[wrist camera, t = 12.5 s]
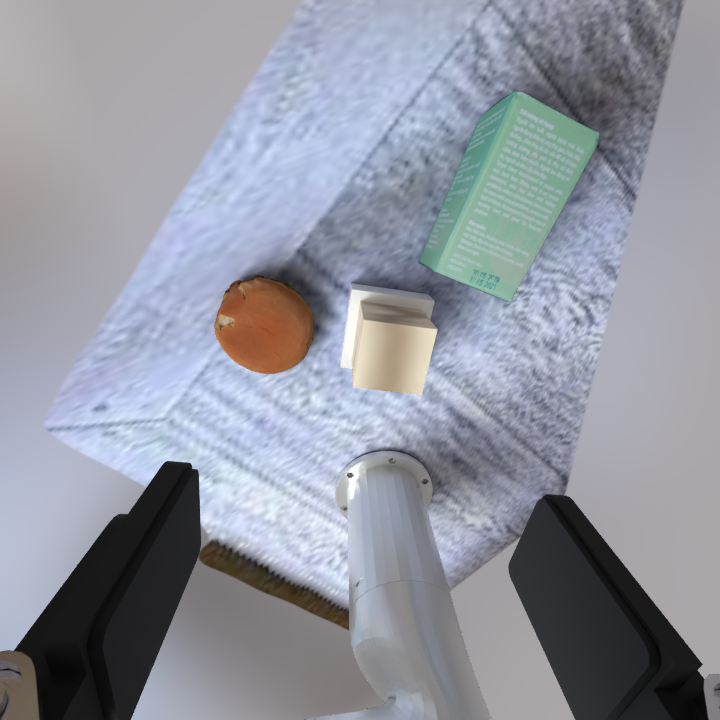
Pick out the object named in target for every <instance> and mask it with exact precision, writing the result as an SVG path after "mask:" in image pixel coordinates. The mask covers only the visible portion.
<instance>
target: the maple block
mask: <svg viewBox="0 0 720 720" xmlns="http://www.w3.org/2000/svg"><path fill="white" fill-rule="evenodd" d="M437 330H438V329H437V328H436V327H435V326H434V324H433V323H432V322H431V320H430V319H429V318H428V317H427V315H426V314H425V313H424V312H423V310H420V309H413V308H406V307H398V306H391V305H384V304H376V303H369V302H362V301H360V306H359V312H358V319H357V325H356V332H355V339H354V345H353V352H352V358H351V362H352V379H353V387H355V388H364V389H373V390H382V391H391V392H400V393H409V394H418V395H422V391H423V387H424V383H425V379H426V375H427V371H428V367H429V362H430V358H431V354H432V350H433V346H434V342H435V338H436V334H437Z"/></svg>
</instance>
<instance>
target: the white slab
mask: <svg viewBox="0 0 720 720" xmlns="http://www.w3.org/2000/svg"><path fill="white" fill-rule="evenodd" d="M360 301H362V302H369V303H376V304H384V305H391V306H398V307H406V308H413V309H420V310H423V312H424V313H425V314H426V315H427V317H428V318H429V319H431V315H432V311H433V307H434V303H435V301H434V300H433V299H432V298H431V297H430V296H429V295H428V294H424V293H417V292H410V291H403V290H396V289H389V288H382V287H375V286H368V285H361V284H354V283H351V285H350V292H349V299H348V306H347V314H346V321H345V328H344V335H343V342H342V349H341V358H340V367H344V368H352V362H351V358H352V352H353V345H354V339H355V332H356V325H357V319H358V312H359V306H360Z"/></svg>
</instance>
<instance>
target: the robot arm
mask: <svg viewBox="0 0 720 720" xmlns="http://www.w3.org/2000/svg"><path fill="white" fill-rule="evenodd" d="M432 493H433V488H432V482H431V478H430V476H429V474H428V471H427V470H426V468H425V467H424V466H423V465H422V463H420V462H419V461H418V460H417V459H415V458H413V457H411V456H409V455H407V454H404V453H401V452H395V451H378V452H372V453H369V454H366V455H363V456H361V457H359V458H357V459H355V460H353V461H352V462H351V463H350V464H348V465H347V466H346V467H345V468H344V470H343V471H342V472H341V474H340V475H339V477H338V479H337V483H336V487H335V499H336V504H337V507H338V509H339V510H340V512H341V513H342V515H343V516H344V517H345V518H346V519H347V520H348V565H349V625H350V640H351V645H352V650H353V653H354V656H355V658H356V661H357V663H358V665H359V667H360V669H361V671H362V673H363V674H364V676H365V677H366V679H367V680H368V682H369V683H370V685H371V686H372V687H373V689H374V690H375V691H376V693H377V694H378V695H379V696H380V698H381V699H382V700H383V702H384V703H385V704H383V705H381V706H377V707H372V708H367V709H366V710H364V711H357V712H350V713H343V714H336V715H329V716H322V717H315V718H309V719H303V720H492V718H491V716H490V713H489V711H488V708H487V706H486V704H485V701H484V698H483V695H482V693H481V690H480V687H479V685H478V682H477V679H476V677H475V674H474V671H473V668H472V665H471V662H470V659H469V656H468V653H467V650H466V646H465V643H464V640H463V636H462V633H461V630H460V626H459V623H458V619H457V616H456V613H455V609H454V605H453V601H452V598H451V594H450V591H449V587H448V583H447V580H446V576H445V573H444V569H443V566H442V562H441V559H440V555H439V551H438V548H437V544H436V541H435V537H434V534H433V530H432V526H431V523H430V519H429V516H428V512H427V509H426V508H427V507H428V505H429V503H430V501H431V498H432ZM200 529H201V528H200V499H199V473H198V470H196V469H192V465H191V463H184V462H173V461H166V462H165V463H164V464H163V465H162V466H161V468H160V469H159V471H158V472H157V474H156V475H155V476H154V478H153V479H152V481H151V482H150V484H149V485H148V486H147V488H146V490H145V491H144V492H143V494H142V495H141V496H140V498H139V499H138V501H137V502H136V504H135V505H134V506H133V508H132V509H131V511H130V512H129V514H118V515H117V516H115V517H114V518H113V519H112V520H111V521H110V522H109V524H108V525H107V526H106V528H105V529H104V530H103V532H102V533H101V534H100V536H99V537H98V538H97V540H96V541H95V542H94V544H93V545H92V546H91V548H90V549H89V551H88V552H87V553H86V554H85V556H84V557H83V558H82V560H81V561H80V563H79V564H78V565H77V567H76V568H75V569H74V571H73V572H72V573H71V575H70V576H69V577H68V579H67V580H66V581H65V583H64V584H63V586H62V587H61V588H60V589H59V591H58V592H57V594H56V595H55V596H54V598H53V599H52V600H51V601H50V603H49V604H48V605H47V607H46V609H45V610H44V611H43V612H42V614H41V615H40V616H39V618H38V619H37V620H36V622H35V623H34V624H33V626H32V627H31V628H30V630H29V631H28V632H27V634H26V635H25V637H24V638H23V639H22V641H21V642H20V643H19V644H18V646H17V647H16V649H15V650H14V651H10V650H7V651H2V652H0V720H131V717H132V715H133V713H134V710H135V708H136V705H137V703H138V701H139V698H140V696H141V693H142V691H143V689H144V686H145V684H146V681H147V679H148V676H149V674H150V672H151V669H152V667H153V665H154V662H155V660H156V657H157V655H158V652H159V650H160V648H161V645H162V643H163V640H164V638H165V636H166V633H167V631H168V628H169V626H170V624H171V621H172V619H173V616H174V614H175V611H176V609H177V607H178V604H179V602H180V599H181V597H182V594H183V592H184V590H185V587H186V585H187V582H188V580H189V578H190V575H191V573H192V570H193V568H194V565H195V563H196V561H197V558H198V555H199V552H200V547H201V530H200ZM509 574H510V577H511V580H512V582H513V584H514V586H515V589H516V591H517V593H518V595H519V597H520V599H521V602H522V604H523V606H524V608H525V610H526V612H527V615H528V617H529V619H530V621H531V624H532V626H533V628H534V630H535V632H536V635H537V637H538V639H539V641H540V643H541V646H542V648H543V650H544V652H545V654H546V656H547V659H548V661H549V663H550V665H551V667H552V670H553V672H554V674H555V676H556V678H557V680H558V683H559V685H560V687H561V689H562V692H563V694H564V696H565V698H566V700H567V702H568V704H569V707H570V709H571V711H572V713H573V715H574V718H575V720H720V674H711V675H710V674H709V675H708V676H707V677H706V678H705V679H704V678H703V677H702V676H701V674H700V673H699V672H698V669H699V668H700V667H701V666H702V663H701V662H700V661H699V659H698V658H697V657H696V655H695V654H694V653H693V652H692V650H691V649H690V648H689V647H688V645H687V644H686V643H685V642H684V640H683V639H682V638H681V637H680V635H679V634H678V633H677V631H676V630H675V629H674V628H673V626H672V625H671V624H670V623H669V622H668V620H667V619H666V618H665V616H664V615H663V614H662V612H661V611H660V610H659V609H658V607H657V606H656V605H655V604H654V602H653V601H652V600H651V599H650V597H649V596H648V595H647V594H646V592H645V591H644V590H643V589H642V587H641V586H640V585H639V583H638V582H637V581H636V580H635V578H634V577H633V576H632V575H631V573H630V572H629V571H628V569H627V568H626V567H625V566H624V564H623V563H622V562H621V561H620V559H619V558H618V557H617V556H616V555H615V553H614V552H613V551H612V549H611V548H610V547H609V546H608V544H607V543H606V542H605V541H604V539H603V538H602V537H601V535H600V534H599V533H598V532H597V530H596V529H595V528H594V526H593V525H592V524H591V523H590V522H589V520H588V519H587V518H586V516H585V515H584V514H583V513H582V511H581V510H580V509H579V508H578V506H577V505H576V504H575V503H574V501H573V500H572V499H571V498H570V497H567V496H562V495H551V494H546V495H544V496H543V498H542V499H540V500H538V502H537V503H536V505H535V508H534V510H533V512H532V514H531V516H530V519H529V521H528V523H527V525H526V527H525V529H524V532H523V534H522V536H521V538H520V541H519V543H518V545H517V547H516V549H515V551H514V553H513V556H512V558H511V560H510V563H509Z"/></svg>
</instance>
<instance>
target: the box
mask: <svg viewBox="0 0 720 720" xmlns="http://www.w3.org/2000/svg"><path fill="white" fill-rule="evenodd" d="M598 141H599V133H598V132H597V131H595V130H593V129H591V128H589V127H587V126H585V125H583V124H581V123H579V122H577V121H575V120H573V119H571V118H570V117H568V116H566V115H564V114H562V113H561V112H559V111H557V110H555V109H553V108H551V107H549V106H547V105H545V104H544V103H542V102H540V101H538V100H536V99H534V98H532V97H530V96H529V95H527V94H525V93H523V92H520V91H513V92H512V93H510V94H509V95H507V96H506V97H504V98H503V99H501V100H500V101H498V102H497V103H496V104H494V105H493V106H492V107H491V108H490V109H488V110H487V111H486V112H485V113H484V114H483V115H482V116H481V117H480V119H479V121H478V123H477V125H476V127H475V130H474V132H473V135H472V137H471V139H470V142H469V144H468V146H467V149H466V151H465V153H464V156H463V158H462V160H461V163H460V165H459V168H458V170H457V172H456V175H455V177H454V179H453V182H452V184H451V186H450V189H449V191H448V193H447V196H446V198H445V200H444V202H443V205H442V207H441V209H440V212H439V214H438V216H437V219H436V221H435V223H434V226H433V228H432V231H431V233H430V236H429V238H428V240H427V243H426V245H425V248H424V250H423V253H422V255H421V258H420V260H419V263H420V264H422V265H424V266H425V267H427V268H429V269H431V270H433V271H434V272H437V273H439V274H442V275H444V276H447V277H449V278H451V279H454V280H456V281H459V282H461V283H463V284H466V285H468V286H471V287H473V288H475V289H478V290H480V291H483V292H485V293H488V294H490V295H492V296H495V297H497V298H500V299H502V300H504V301H507V302H511V300H512V298H513V296H514V294H515V292H516V290H517V289H518V287H519V285H520V283H521V282H522V280H523V278H524V277H525V275H526V273H527V272H528V270H529V268H530V266H531V264H532V263H533V261H534V259H535V257H536V255H537V254H538V252H539V250H540V248H541V246H542V245H543V243H544V241H545V239H546V237H547V236H548V234H549V232H550V230H551V228H552V227H553V225H554V223H555V221H556V219H557V218H558V216H559V214H560V212H561V211H562V209H563V207H564V205H565V203H566V202H567V200H568V198H569V196H570V194H571V192H572V191H573V189H574V187H575V185H576V183H577V181H578V180H579V178H580V176H581V174H582V172H583V170H584V169H585V167H586V165H587V163H588V161H589V159H590V158H591V156H592V154H593V152H594V150H595V149H596V147H597V145H598Z"/></svg>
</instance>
